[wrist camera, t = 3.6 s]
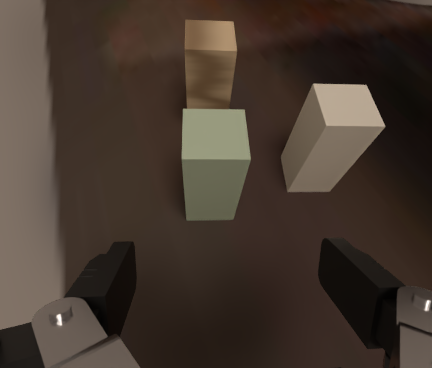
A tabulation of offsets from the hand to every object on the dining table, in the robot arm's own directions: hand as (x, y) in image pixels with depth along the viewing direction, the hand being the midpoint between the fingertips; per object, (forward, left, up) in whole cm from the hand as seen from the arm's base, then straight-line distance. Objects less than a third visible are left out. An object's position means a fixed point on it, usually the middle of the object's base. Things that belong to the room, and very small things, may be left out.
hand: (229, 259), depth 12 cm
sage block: (-7, -6, -13) cm, 16 cm away
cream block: (-16, 0, -13) cm, 21 cm away
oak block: (-16, -14, -13) cm, 25 cm away
